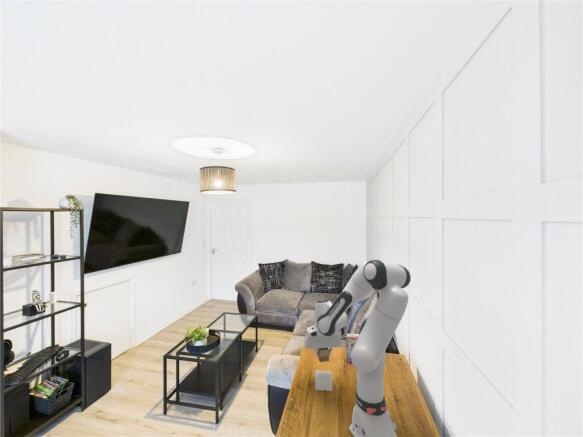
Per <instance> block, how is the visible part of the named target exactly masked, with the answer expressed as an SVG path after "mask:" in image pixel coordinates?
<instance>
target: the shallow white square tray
mask: <svg viewBox="0 0 583 437" xmlns="http://www.w3.org/2000/svg"><path fill="white" fill-rule="evenodd" d="M332 372H333V371H331V370H329V371H327V370H318V369H317V370H315V376H314V388H315V389H314V391H324V390H326V391H327V392H333V373H332ZM326 391H325V392H326Z"/></svg>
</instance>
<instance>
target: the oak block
mask: <svg viewBox="0 0 583 437" xmlns="http://www.w3.org/2000/svg"><path fill="white" fill-rule="evenodd" d="M329 349H330V348H319V349H317V352H319V356H317V359H318V361H319V363H326V362H327V363H328V362H330V355H329Z"/></svg>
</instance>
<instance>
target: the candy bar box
mask: <svg viewBox="0 0 583 437" xmlns="http://www.w3.org/2000/svg"><path fill="white" fill-rule="evenodd" d="M345 335H346V336H345V337H346V338H345V339H346V340H345V341H346V344H345V347H346V348H345V350H346V351H345V358H346V363H347V364H348V363H349V364H352V361H351V353H352V349H353V347H354V345H355V343H356V341H357V339H358V337H359V335H360V333H358V334H357V333H346V334H345Z"/></svg>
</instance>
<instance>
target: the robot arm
mask: <svg viewBox="0 0 583 437" xmlns="http://www.w3.org/2000/svg"><path fill="white" fill-rule="evenodd" d="M410 283H411V272H410V271H409V270H408V268H406V267H405V266H403V265H401V264H398V263H394V262H391V261H387V260H379V259H371V260H368V261H364V262H363V263H362V264H360V265H359V267H357V269H356V270H355V271H354V273H353V274H352V275H351V277H350V279H349V280H348V282H347V283H346V285H345V287H344V288H343V289H342V291H341V292H340V294H339V296H337V297H336V299H335V300H334V301H333V303H332V301H331V300H330V299H327V298H326V299H320V300H318V301H316V303H315V307H314V319H315V321H314V324H313V325H311V326H308V327H307V328H306V333H305V336H304V347H305V349H306V350H314V352H315V356H316V357H318V356H319V352H318V349H319V348H328V349H329V356H331V354H332V352H333V348H340V347H341V346H342V345H343V343H342V342H343V341H342V330H341V329H343V328H344V327H346V326H347V325H348V323H349V317H348V314H347V313H346V311H347V310H348V309H349V308H350V307H352V306H354V305H355V304H358V303H359V302H361V301H363V300H364V299H365V298H367V297H368V296H369V295H370V294H371V293H372V291H373V290H375V291H379V295H378V298H377V300H376V302H375V304H374V306H373V308H372V311H371V312H370V314H369V317H368V319H367V321H366V322H365V324H364V326H363V328H362V330H361V331H360V333H359V334H360V335H359V337H358V339H357V341H356V343H355V345H354V347H353V349H352V353H351V361H352V363H351V364H352V366H353V367H354V369H356V389H355V396H354V398H355V403H354V407H353V409H352V419H351V424H350V425H349V428H348V430H349V432H350V433H351V435H352V437H398V435H397V433H396V430H397V424H396V422H392V419H391V413H390V412H389V411H388V409H387V408H388V407H387V401H386V397H385V392H384V391H385V390H384V388H385V387H384V382H385V381H384V379H385V378H384V377H385V363H386V351H387V348H388V346H389V344H390V342H391V340H392V338H393V337H394V334H395V332H396V331H397V329H398V326H399V325H400V323H401V320H402V318H403V317H404V315H405V312H406V309H407V308H408V307H407V306H408V304H409V295H408V293H407V291H406V290H405V289H404V288H406V287H408V286H409V285H410Z"/></svg>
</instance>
